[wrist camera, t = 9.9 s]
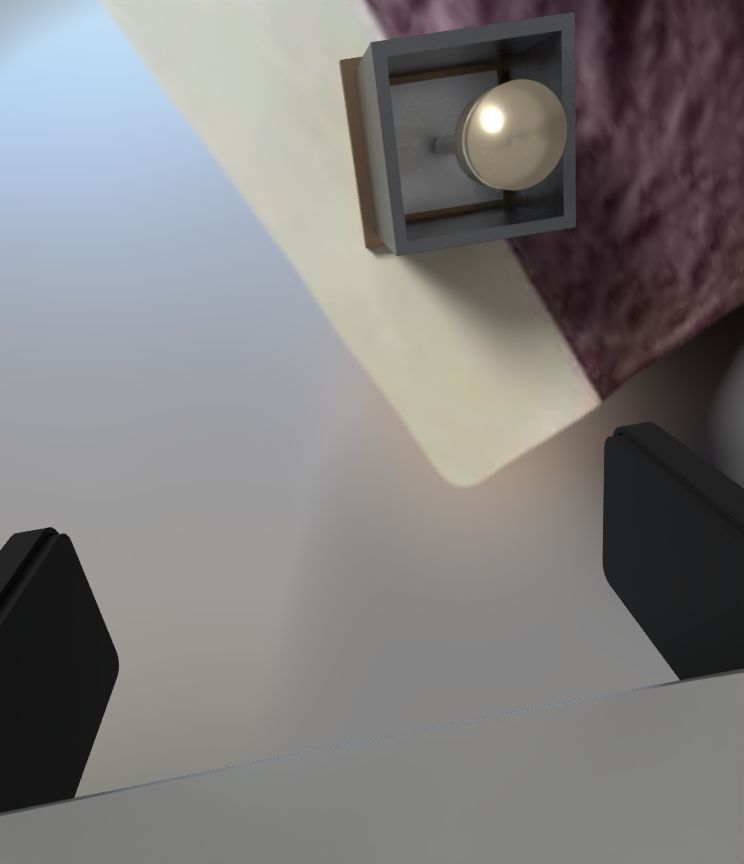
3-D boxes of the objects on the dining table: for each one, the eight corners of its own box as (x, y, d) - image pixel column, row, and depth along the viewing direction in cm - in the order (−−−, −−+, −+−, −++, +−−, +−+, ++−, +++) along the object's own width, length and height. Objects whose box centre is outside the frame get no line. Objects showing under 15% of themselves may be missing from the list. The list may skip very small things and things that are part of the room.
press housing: (514, 36, 42) (590, -10, 31) (521, 221, 46) (589, 239, 35) (339, 62, 41) (352, 25, 30) (365, 246, 46) (384, 272, 35)
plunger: (493, 71, 41) (608, 16, 26) (500, 198, 44) (605, 217, 29) (375, 89, 41) (418, 44, 25) (390, 215, 44) (437, 244, 29)
